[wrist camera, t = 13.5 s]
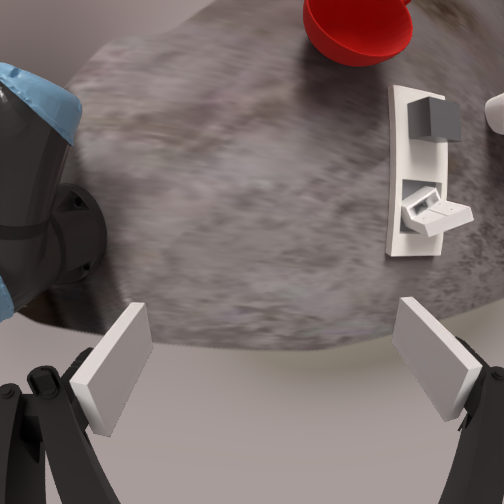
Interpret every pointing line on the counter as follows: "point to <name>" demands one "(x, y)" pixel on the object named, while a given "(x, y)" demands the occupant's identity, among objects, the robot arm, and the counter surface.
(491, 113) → the foam cup
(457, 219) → the white angled block
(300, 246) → the counter surface
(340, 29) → the ceramic cup
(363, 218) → the counter surface
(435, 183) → the white slotted base plate
